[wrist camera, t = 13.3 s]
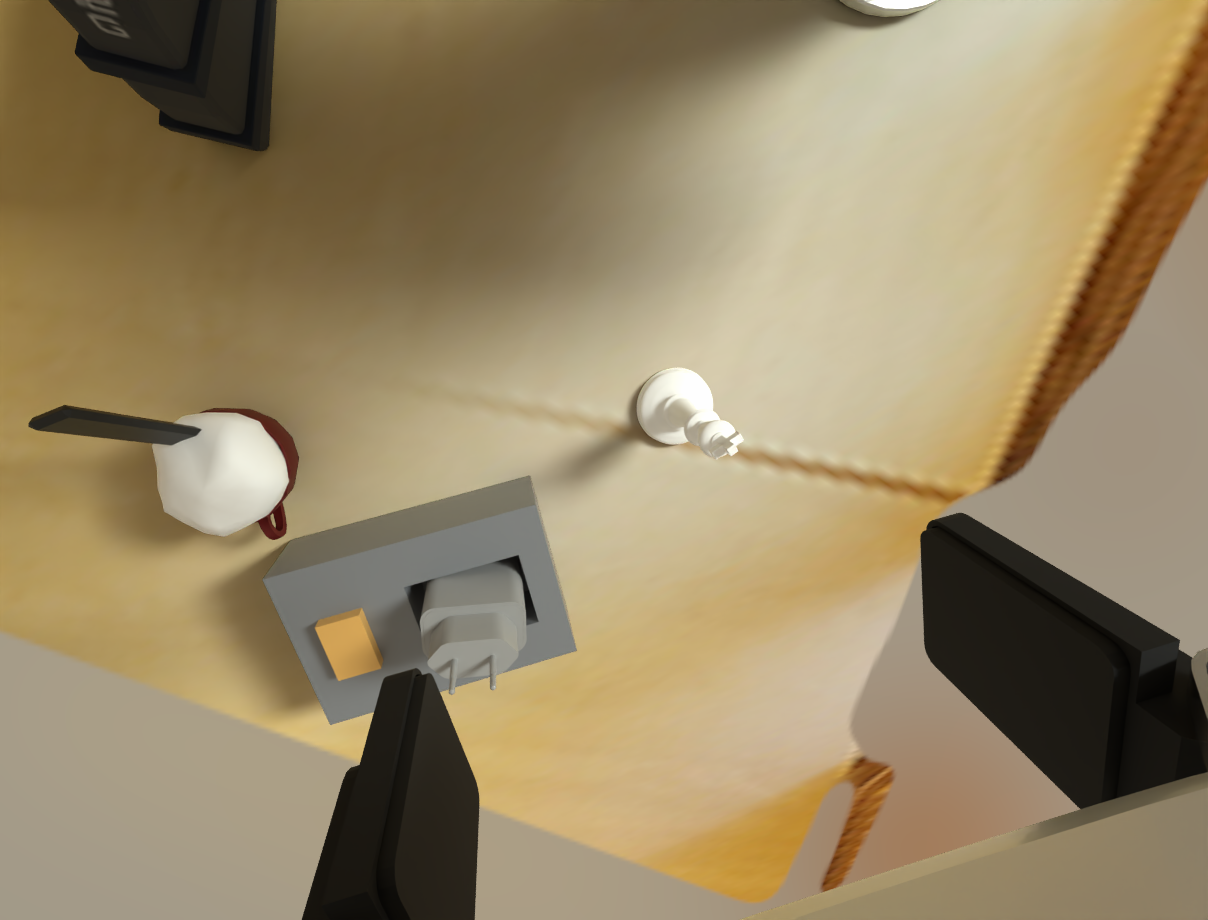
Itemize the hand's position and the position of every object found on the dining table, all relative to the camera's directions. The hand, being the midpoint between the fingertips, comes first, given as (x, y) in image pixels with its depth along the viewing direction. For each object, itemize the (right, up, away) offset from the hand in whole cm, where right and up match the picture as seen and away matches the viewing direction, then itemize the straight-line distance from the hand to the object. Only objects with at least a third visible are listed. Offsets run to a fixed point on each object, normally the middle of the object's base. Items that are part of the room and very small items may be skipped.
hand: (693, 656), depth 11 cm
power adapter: (-10, -3, +28) cm, 30 cm away
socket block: (-12, -4, +29) cm, 31 cm away
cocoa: (-22, +5, +24) cm, 33 cm away
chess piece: (+3, +7, +28) cm, 29 cm away
